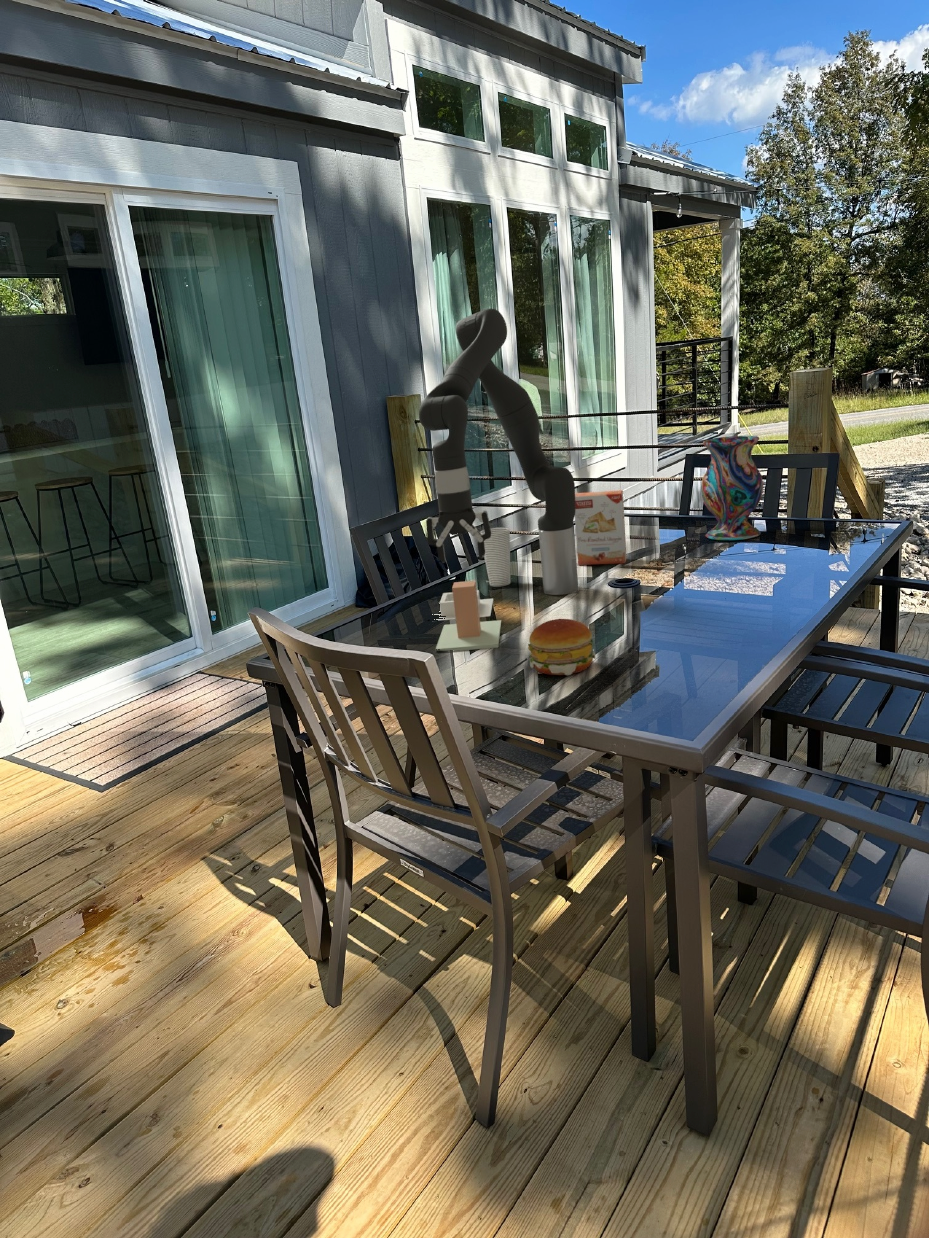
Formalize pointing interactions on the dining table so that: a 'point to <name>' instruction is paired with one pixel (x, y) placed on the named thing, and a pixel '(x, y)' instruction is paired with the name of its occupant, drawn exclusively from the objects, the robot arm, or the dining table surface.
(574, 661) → the burger
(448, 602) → the pocket
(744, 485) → the vase
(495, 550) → the cup
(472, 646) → the mat
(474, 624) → the part
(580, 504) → the cracker box
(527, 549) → the dining table surface
